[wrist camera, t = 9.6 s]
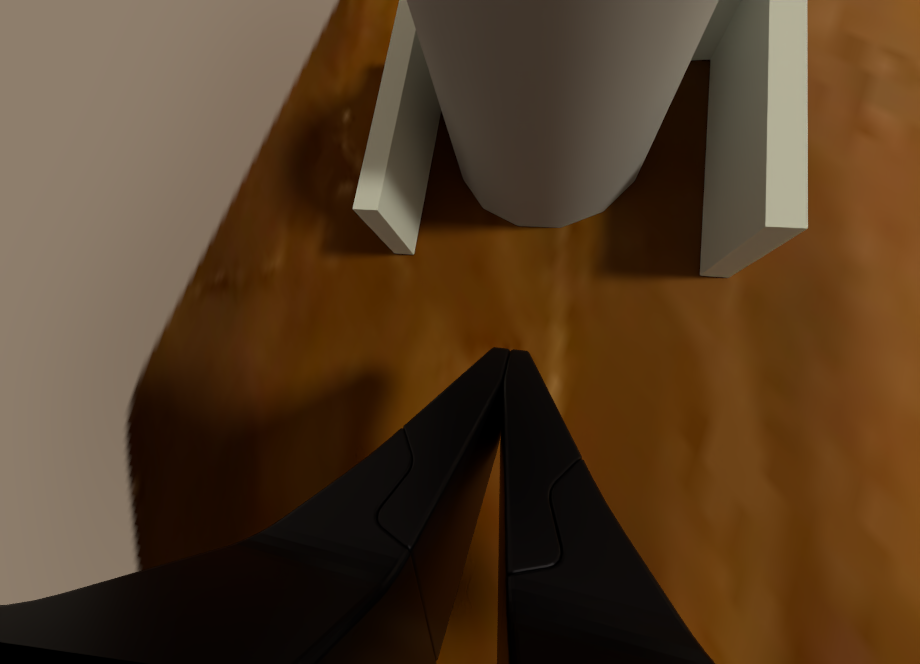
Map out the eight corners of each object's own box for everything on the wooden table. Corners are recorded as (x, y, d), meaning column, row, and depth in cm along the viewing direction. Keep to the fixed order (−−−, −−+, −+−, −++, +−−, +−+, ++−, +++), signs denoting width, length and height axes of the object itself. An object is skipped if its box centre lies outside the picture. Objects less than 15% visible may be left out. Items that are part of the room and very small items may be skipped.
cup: (496, 57, 18) (453, -357, 8) (670, 79, 15) (894, -449, 6) (435, 205, 17) (303, -62, 7) (611, 249, 15) (763, -44, 5)
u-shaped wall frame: (728, 277, 13) (807, 228, 10) (394, 253, 17) (352, 208, 13) (737, 38, 15) (806, -85, 11) (433, 58, 18) (406, -33, 14)
